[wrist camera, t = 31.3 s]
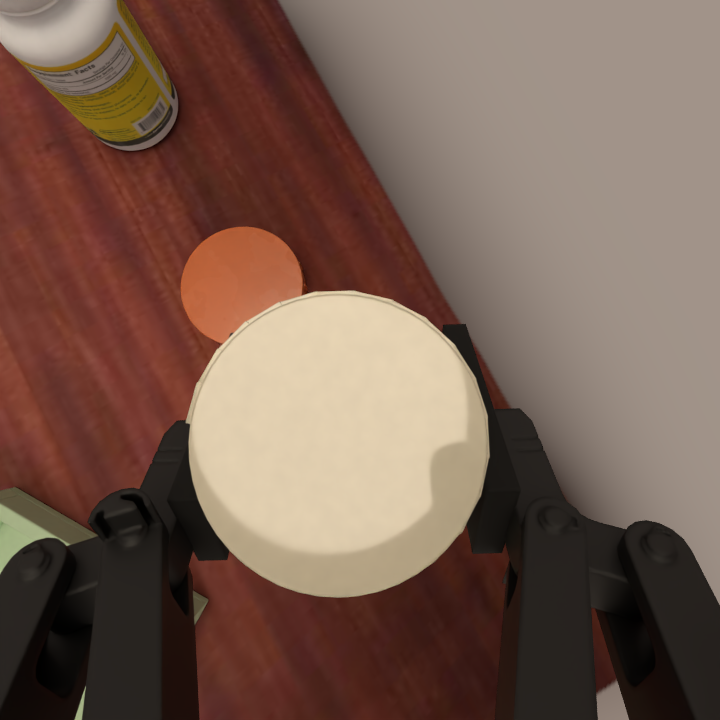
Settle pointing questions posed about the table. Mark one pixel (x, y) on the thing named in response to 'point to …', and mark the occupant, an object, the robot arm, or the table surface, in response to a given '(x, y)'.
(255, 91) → the table surface
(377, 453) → the jar
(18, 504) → the tray
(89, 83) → the pill bottle
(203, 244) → the lid
